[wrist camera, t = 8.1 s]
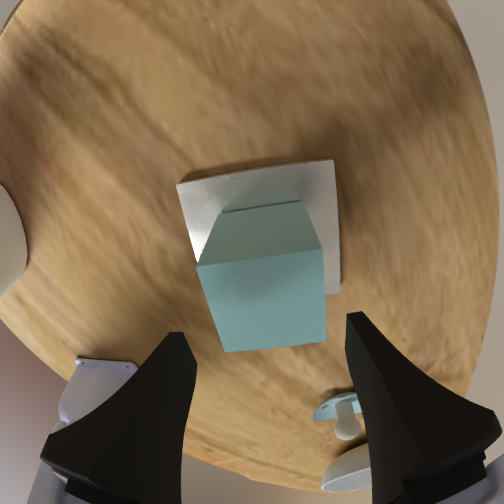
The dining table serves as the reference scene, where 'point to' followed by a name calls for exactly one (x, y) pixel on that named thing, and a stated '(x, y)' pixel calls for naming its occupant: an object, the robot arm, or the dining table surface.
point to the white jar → (10, 244)
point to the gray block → (268, 203)
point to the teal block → (264, 278)
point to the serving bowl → (349, 471)
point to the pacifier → (341, 414)
